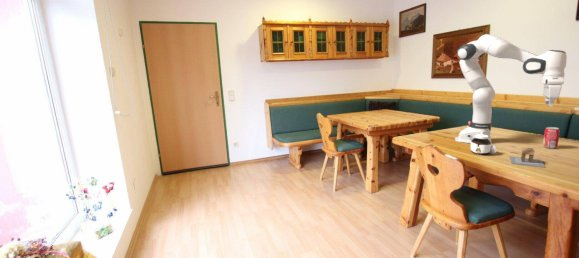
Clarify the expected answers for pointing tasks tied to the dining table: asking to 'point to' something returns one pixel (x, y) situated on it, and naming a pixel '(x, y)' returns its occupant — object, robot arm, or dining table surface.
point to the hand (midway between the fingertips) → (548, 105)
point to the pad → (526, 162)
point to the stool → (530, 152)
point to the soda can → (551, 137)
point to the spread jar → (482, 145)
